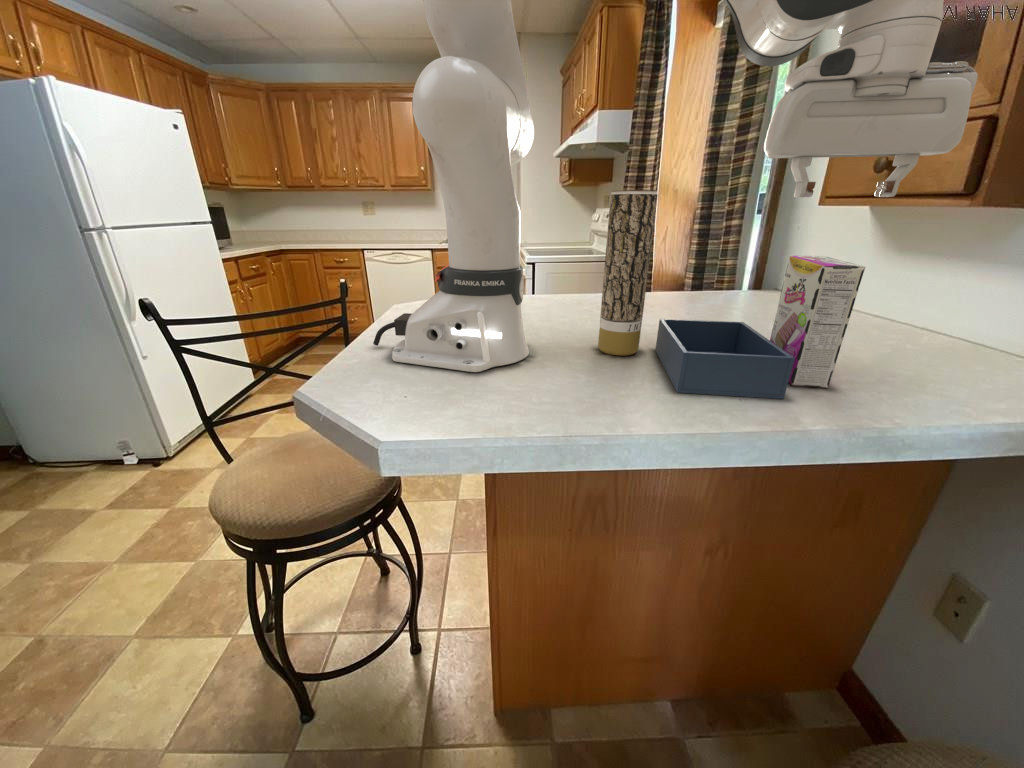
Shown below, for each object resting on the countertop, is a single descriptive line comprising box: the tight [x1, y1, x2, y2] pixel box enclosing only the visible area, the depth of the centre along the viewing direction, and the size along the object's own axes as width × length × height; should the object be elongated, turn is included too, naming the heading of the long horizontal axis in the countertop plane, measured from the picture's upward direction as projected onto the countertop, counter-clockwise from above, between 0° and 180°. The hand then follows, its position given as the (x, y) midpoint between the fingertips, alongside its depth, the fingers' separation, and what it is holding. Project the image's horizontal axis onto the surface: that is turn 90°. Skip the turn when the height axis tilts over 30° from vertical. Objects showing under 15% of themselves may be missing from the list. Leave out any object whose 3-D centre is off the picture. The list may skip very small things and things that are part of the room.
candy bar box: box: [769, 255, 867, 389], centre depth 60 cm, size 11×5×16 cm, turn 168°
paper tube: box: [597, 189, 659, 356], centre depth 68 cm, size 7×7×25 cm
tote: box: [654, 318, 795, 400], centre depth 62 cm, size 13×18×6 cm
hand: (842, 197), depth 54 cm, fingers open, 8 cm apart
